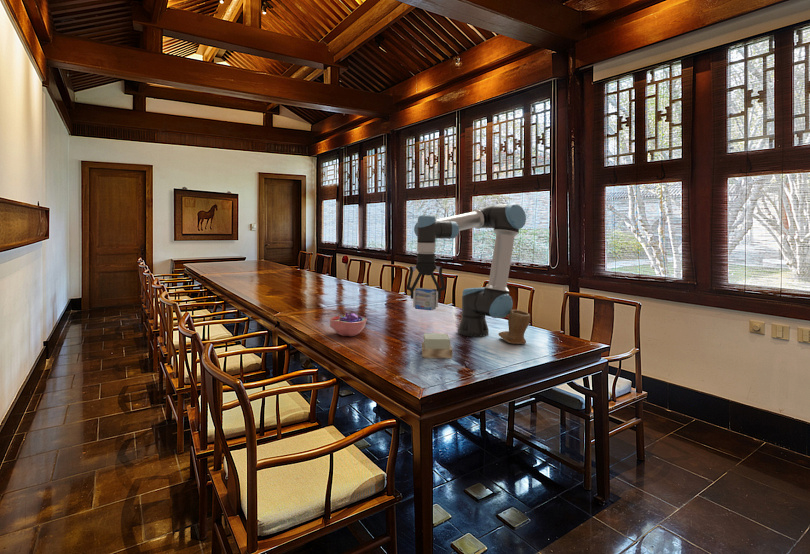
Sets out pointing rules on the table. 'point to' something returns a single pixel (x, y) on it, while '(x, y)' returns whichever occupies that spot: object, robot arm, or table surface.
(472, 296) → the robot arm
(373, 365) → the table surface
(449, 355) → the lower block
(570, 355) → the table surface
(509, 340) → the tan boot-shaped piece
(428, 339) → the upper block
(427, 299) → the medicine box
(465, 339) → the table surface
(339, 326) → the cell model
